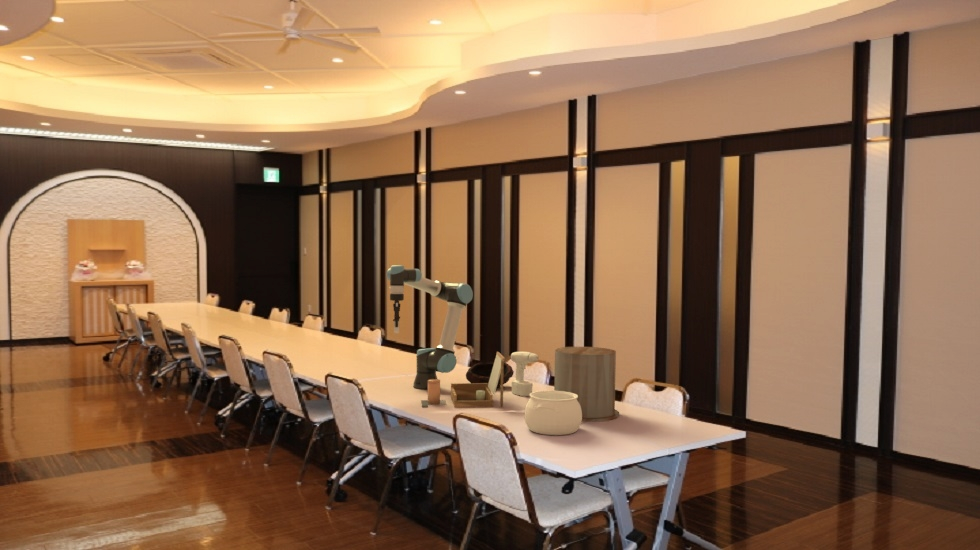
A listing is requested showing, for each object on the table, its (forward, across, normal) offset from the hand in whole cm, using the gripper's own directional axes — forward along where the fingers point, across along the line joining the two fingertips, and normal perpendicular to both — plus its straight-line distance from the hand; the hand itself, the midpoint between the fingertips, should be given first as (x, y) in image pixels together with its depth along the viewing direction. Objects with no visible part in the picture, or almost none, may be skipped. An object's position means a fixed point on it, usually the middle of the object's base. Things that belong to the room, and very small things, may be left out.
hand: (396, 331), depth 410 cm
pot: (+37, +78, +72) cm, 112 cm away
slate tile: (+37, +19, +20) cm, 46 cm away
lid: (+20, +19, +53) cm, 59 cm away
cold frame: (+37, +20, +43) cm, 60 cm away
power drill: (+37, -4, +73) cm, 82 cm away
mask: (+37, -29, +56) cm, 73 cm away
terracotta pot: (+36, +19, +20) cm, 45 cm away
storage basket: (+37, +46, +95) cm, 112 cm away
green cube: (+36, +19, +45) cm, 61 cm away
